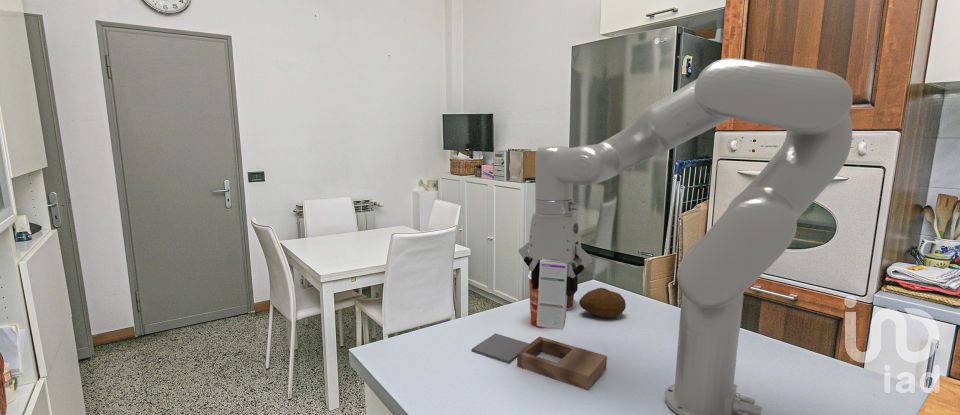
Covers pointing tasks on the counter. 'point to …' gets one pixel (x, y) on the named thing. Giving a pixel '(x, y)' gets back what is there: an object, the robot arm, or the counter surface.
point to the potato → (603, 303)
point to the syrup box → (552, 294)
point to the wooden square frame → (563, 362)
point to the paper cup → (533, 303)
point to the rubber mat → (500, 348)
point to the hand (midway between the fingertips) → (553, 290)
